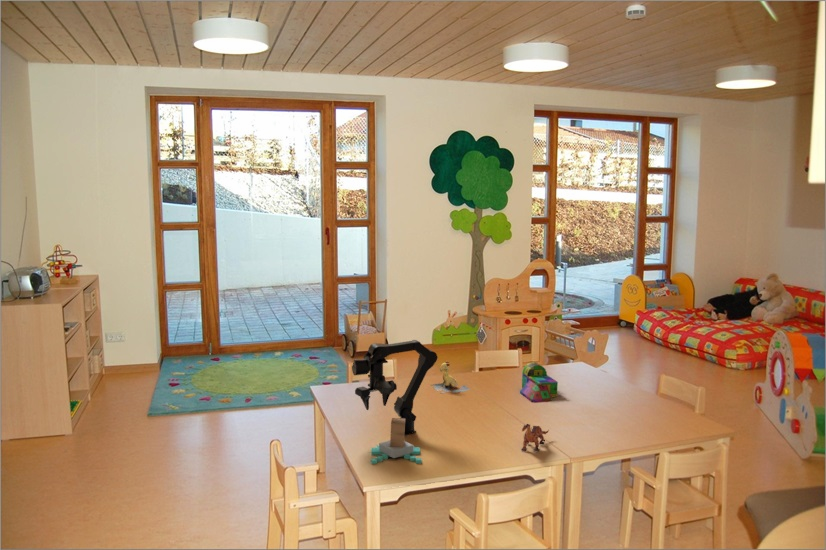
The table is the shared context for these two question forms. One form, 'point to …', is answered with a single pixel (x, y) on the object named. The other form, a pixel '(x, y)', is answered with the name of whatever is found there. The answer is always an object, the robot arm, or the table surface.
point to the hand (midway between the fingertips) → (376, 407)
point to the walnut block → (397, 432)
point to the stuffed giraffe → (448, 381)
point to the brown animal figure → (533, 436)
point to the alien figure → (384, 456)
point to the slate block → (395, 449)
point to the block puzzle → (537, 383)
